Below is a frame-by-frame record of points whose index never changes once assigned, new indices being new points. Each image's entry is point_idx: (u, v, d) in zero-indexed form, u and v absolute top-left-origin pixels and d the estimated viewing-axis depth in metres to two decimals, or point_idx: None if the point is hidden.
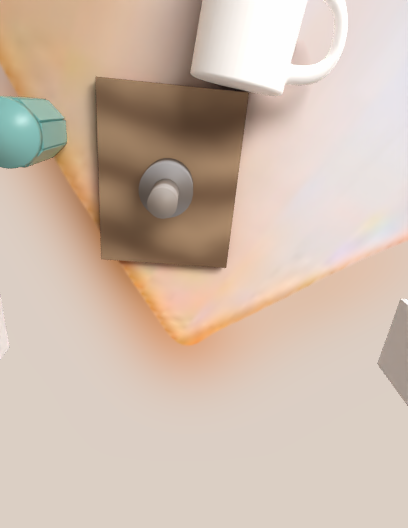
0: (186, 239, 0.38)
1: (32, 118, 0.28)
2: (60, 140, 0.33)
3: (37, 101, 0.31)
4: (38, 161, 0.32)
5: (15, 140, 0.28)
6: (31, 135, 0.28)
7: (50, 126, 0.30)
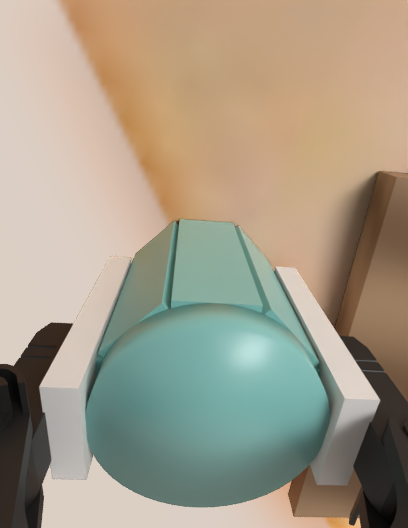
0: None
1: (321, 382, 0.08)
2: None
3: (252, 257, 0.11)
4: None
5: (248, 444, 0.08)
6: (306, 432, 0.08)
7: None
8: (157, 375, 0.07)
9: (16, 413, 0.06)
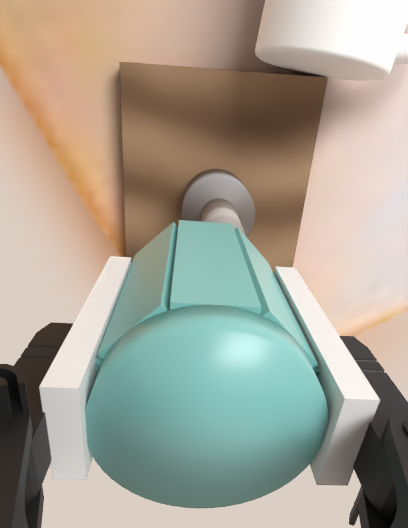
0: None
1: (319, 383, 0.08)
2: None
3: (251, 259, 0.11)
4: None
5: (246, 446, 0.08)
6: (305, 433, 0.08)
7: None
8: (156, 377, 0.07)
9: (15, 413, 0.06)
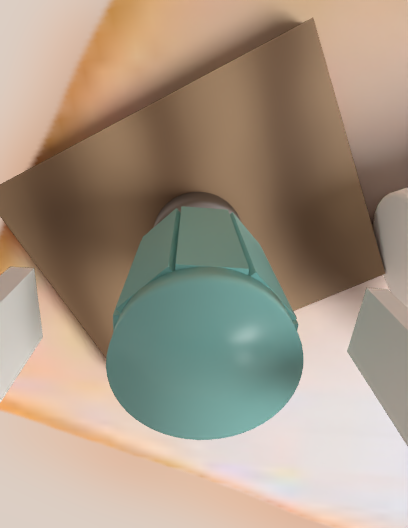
0: None
1: (296, 329, 0.09)
2: None
3: (243, 236, 0.12)
4: None
5: (237, 382, 0.10)
6: (285, 372, 0.10)
7: None
8: (164, 321, 0.09)
9: None
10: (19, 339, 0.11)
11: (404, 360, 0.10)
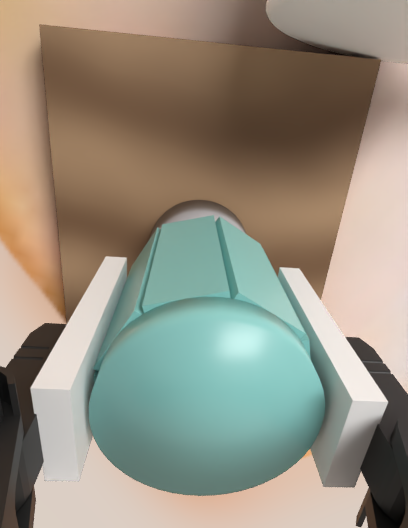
0: None
1: (219, 315, 0.07)
2: (263, 258, 0.12)
3: (159, 252, 0.11)
4: None
5: (246, 401, 0.08)
6: (266, 354, 0.07)
7: (240, 265, 0.10)
8: (124, 425, 0.08)
9: (6, 415, 0.06)
10: None
11: None
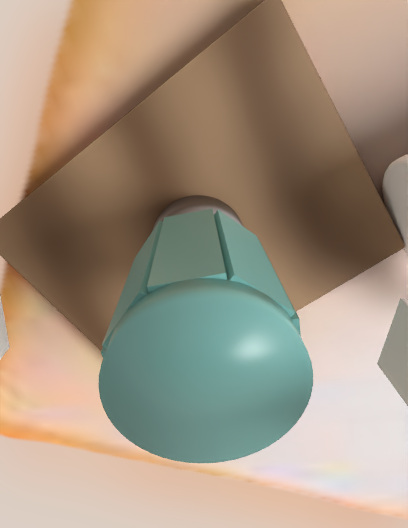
0: None
1: (217, 293, 0.08)
2: (258, 248, 0.13)
3: (162, 241, 0.12)
4: None
5: (241, 373, 0.09)
6: (258, 328, 0.08)
7: (236, 252, 0.10)
8: (130, 395, 0.09)
9: None
10: None
11: None
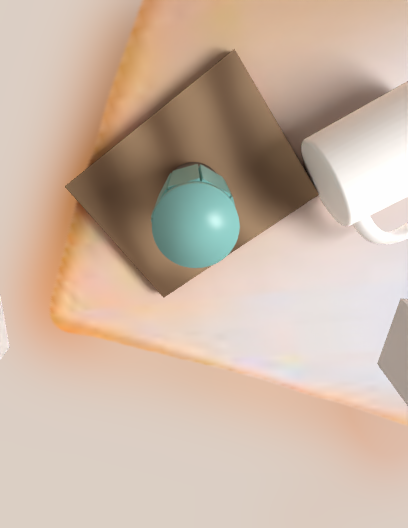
0: None
1: (163, 197, 0.21)
2: (194, 168, 0.25)
3: None
4: (224, 186, 0.23)
5: (197, 212, 0.21)
6: (184, 194, 0.21)
7: (174, 179, 0.23)
8: (177, 251, 0.22)
9: None
10: None
11: None
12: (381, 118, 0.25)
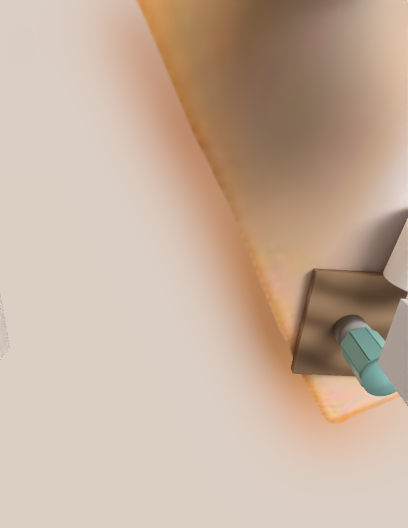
0: None
1: (362, 380, 0.43)
2: (352, 342, 0.47)
3: (350, 367, 0.47)
4: (376, 346, 0.44)
5: (381, 374, 0.43)
6: (370, 374, 0.42)
7: (354, 360, 0.45)
8: (385, 391, 0.44)
9: None
10: None
11: None
12: None
